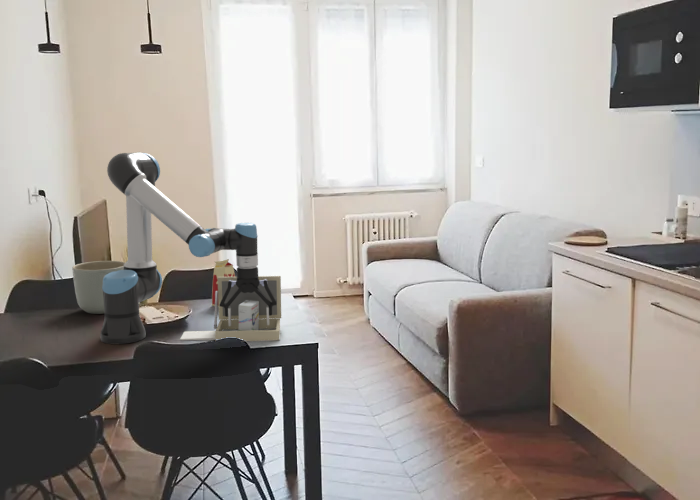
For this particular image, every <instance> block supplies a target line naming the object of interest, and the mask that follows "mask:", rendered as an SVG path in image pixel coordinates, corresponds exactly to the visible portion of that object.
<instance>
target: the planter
mask: <svg viewBox="0 0 700 500" xmlns="http://www.w3.org/2000/svg"><path fill="white" fill-rule="evenodd" d="M125 263H126V261H125V262H124V261H118V260H97V261H88V262H82V263H77V264H75V265H73V266H72V279H73V285H74V293H75V297H76V302H77V305H78V306H79V308H80V309H81V310H82V311H84V312H85V313H87V314H92V315H105V314H104V299H103V289H102V285H103V278H104V276H105V275H107V274H108V273H111V272H114V271H118V270H124V264H125Z"/></svg>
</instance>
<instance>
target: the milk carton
mask: <svg viewBox="0 0 700 500" xmlns="http://www.w3.org/2000/svg"><path fill="white" fill-rule="evenodd" d="M214 263H215V265H214V267H213V275H212V277H213V278H212V288H211V289H212V291H211V292H212V293H211V306H213V307H215V292H216V291H218V277H236V273H235V268H234V265H233V263H231V262H229V258H228V259H227V258H226V259H225V260H221V261H220V260H219V261H217V260H216V261H214ZM217 308H219V306H217Z"/></svg>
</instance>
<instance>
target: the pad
mask: <svg viewBox="0 0 700 500" xmlns="http://www.w3.org/2000/svg"><path fill="white" fill-rule="evenodd" d="M215 332H216V330H199V331H197V330H195V331H183V333H182V335H181V337H179V338H180V339H179V341H209V340H210V341H214V340H215V339H216V338H215ZM215 341H216V340H215Z"/></svg>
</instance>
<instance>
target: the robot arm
mask: <svg viewBox="0 0 700 500" xmlns="http://www.w3.org/2000/svg"><path fill="white" fill-rule="evenodd" d="M106 168H107V170H106V172H107V177H108V179H109V181H110V182H111V183H112V185H113V186H114V187H115V188H116V189H118V190H119V191H120V192H121V193H122V194H123V195H124V196H125V202H126V203H125V205H126V243H127V244H126V245H127V246H126V247H127V260H126V261H125V264H124V270H118V271H114V272H111V273H108V274H107V275H105V276H104V278H103V285H102V289H103V299H104V314H103V315H104V320H103V323H102V327H101V330H100V337H99V338H100V341H101V343H102V342H103V343H104V344H109V345H125V344H129V343H135V342H139V341H142V340H143V339H145V338H146V336H147V335H146V328H145V326H144V323H143V320H142V319H141V318H142V317H141V316H140V303H142V302H143V301H145V300H149V299H151V298H153V297H154V296H155V295H157V294H158V293H159V292H160V290H161V287H162V285H163V277H162V275H161V272H159V270H158V269H157V263H156V262H155V261H154V260H153V239H152V237H153V236H152V235H153V233H152V232H153V231H152V215H153V216H154V217H155V218H156V219H158V221H160V222H161V223H162V224H163V225H165V226H166V227H167V228H168V229H170V230H171V231H172V232H173V233H174V234H175V235H176V236H178V237H179V238H180V239H181V240H182V241H183V242H185V243H186V245H188V250H189V252H190V254H192V256H195V257H196V258H204V257H208V256H210V255H212V254H214V253H217V252H220V251H235V257H236V277H237V281H232V280H229V282H228V288H227V290H226V292H225V294H224V296H223V298H222V300H221V302H220V307H224V308H225V316H226V317H228V319H227V320H228V323H229V326H231V320H232V319H231V307H229V306H230V304H231V303H232V302H233V301H234V299H235V298H236V297H237V296H238V295H239V294H240V292H243V293H247V292H249V293H252V292H254V291H255V293H256V294H258V295H259V296H260V298H261V299H262V300H263V301H264V302H265V303H266V304H267V305H268V306H267V325H269V316H271V315H272V306H274V305H277V301H276V299H275V297H274V295H273V293H272V292H271V290H270V288H269V286H268V283H267V279H264V280H260V281H259V279H258V276H259V267H258V265H259V253H258V230H257V225H256V224H255V223H253V222H240V223H236V224H235V225H234V226H235V227H234V228H216V227H212V228H211V227H210V228H206V229H205V228H204V227H202V225H200V224H199V223H198V222H197V221H196V220H194V219H193V218H192V217H191V216H190V215H189V214H187V213H186V212H185V211H184V210H183V209H181V208H180V207H179V206H178V205H177V204H175V202H173V201H172V200H171V199H170V198H168V196H166V195H165V194H164V193H163V192H162V191H160V189H158V188H157V187H156V182H157V181H158V179H159V178H160V176H161V168H160V164H159V162H158V160H157V159H156V158H155V157H154V156H153V155H152V154H149V153H146V152H140V151H137V152H122V153H121V152H120V153H118V154H115V155H114V156H113V157H111V159H110V160H109V162H108V163H107V167H106ZM235 284H236V285H237V287H238V290H237V291H236V292H235V293H234V295H233V296H232V297H231V298H230V299H229V301H228V302H227V303H224V302H225V300H226V298H227V296H228V294H229V292H230V289H231V287H233V286H234V285H235ZM259 284H262V286H264V287H265V290H266V291H267V293H268V295H269V297H270V299H271V300H272V302H270V301H269V299H268V298H267V297H266V296H265V295H264V294H263V293H262V292H261V291H260V289H259V288H258V286H259Z"/></svg>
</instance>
